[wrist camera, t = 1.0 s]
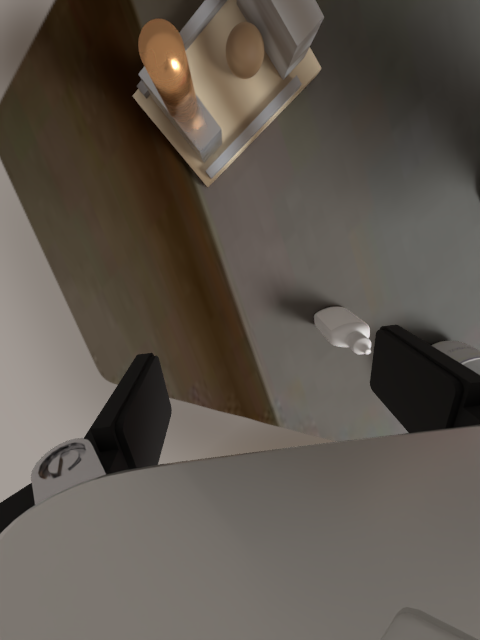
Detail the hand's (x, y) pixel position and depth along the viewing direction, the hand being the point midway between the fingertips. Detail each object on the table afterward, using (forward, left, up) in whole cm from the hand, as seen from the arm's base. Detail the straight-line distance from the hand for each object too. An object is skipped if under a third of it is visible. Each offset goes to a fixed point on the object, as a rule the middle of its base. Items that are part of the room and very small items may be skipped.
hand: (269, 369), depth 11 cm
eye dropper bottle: (-6, +17, -29) cm, 34 cm away
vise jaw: (-7, -16, -27) cm, 32 cm away
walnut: (-15, -16, -27) cm, 35 cm away
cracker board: (-13, -16, -29) cm, 35 cm away
